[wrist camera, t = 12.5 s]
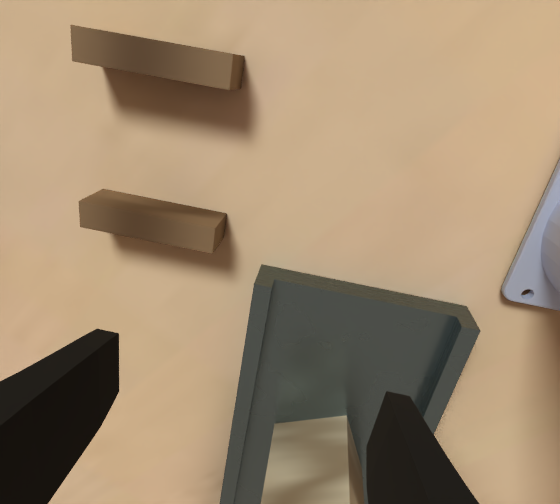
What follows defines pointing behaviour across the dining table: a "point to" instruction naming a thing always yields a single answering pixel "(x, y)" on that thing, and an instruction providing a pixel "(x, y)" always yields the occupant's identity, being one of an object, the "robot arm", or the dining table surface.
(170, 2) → the dining table surface
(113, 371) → the robot arm
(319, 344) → the tray
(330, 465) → the peg
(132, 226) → the socket
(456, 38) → the dining table surface
